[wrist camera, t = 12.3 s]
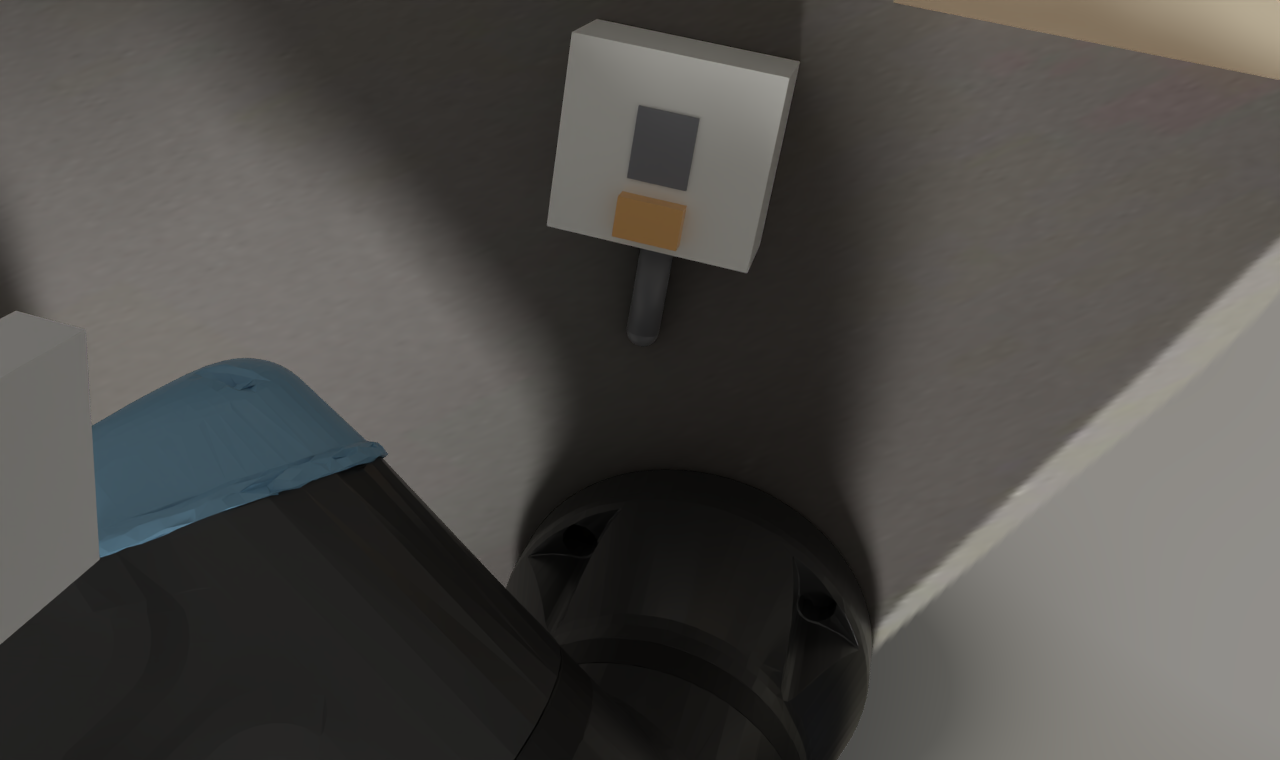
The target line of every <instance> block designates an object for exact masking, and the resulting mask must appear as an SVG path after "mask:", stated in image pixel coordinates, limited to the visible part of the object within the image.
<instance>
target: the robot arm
mask: <svg viewBox="0 0 1280 760" xmlns="http://www.w3.org/2000/svg"><path fill="white" fill-rule="evenodd" d="M387 455H388V453H387V452H386V451H385V450H384V448H383V447H382V446H381V445H380V444H379V443H377V442H369V441H366V440H365V439H364V438H363V437H362V436H361V435H360V434H359V433H357V432H356V431H355V430H354V429H353V428H352V427H351V426H350V425H349V424H348V423H347V422H346V421H345V420H344V419H343V418H342V417H340V416H339V415H338V414H337V413H336V412H335V411H334V410H333V409H332V408H331V407H330V406H329V405H328V404H327V403H326V402H324V401H323V400H322V399H321V398H320V397H319V396H318V395H317V394H316V393H315V392H314V391H313V390H312V389H311V388H310V387H309V386H307V385H306V384H305V383H304V382H303V381H302V380H301V379H300V378H299V377H298V376H296V375H295V374H294V373H292V372H291V371H290V370H288V369H286V368H284V367H283V366H281V365H278V364H276V363H273V362H270V361H266V360H262V359H254V358H237V359H230V360H225V361H221V362H218V363H214V364H211V365H208V366H205V367H203V368H200V369H198V370H195V371H193V372H191V373H189V374H186V375H184V376H182V377H180V378H178V379H176V380H174V381H172V382H170V383H168V384H166V385H164V386H162V387H160V388H159V389H157V390H155V391H153V392H151V393H149V394H147V395H145V396H143V397H142V398H140V399H138V400H136V401H134V402H132V403H130V404H129V405H127V406H125V407H124V408H122V409H120V410H118V411H117V412H115V413H113V414H112V415H110V416H108V417H107V418H105V419H103V420H101V421H100V422H98V423H96V424H94V425H93V426H92V423H91V406H90V389H89V372H88V355H87V338H86V329H84V328H80V327H76V326H72V325H68V324H65V323H61V322H57V321H53V320H50V319H46V318H42V317H38V316H34V315H31V314H27V313H23V312H19V311H14V312H12V313H10V314H8V315H6V316H4V317H2V318H0V760H837V759H838V758H839V756H840V755H841V753H842V752H843V750H844V749H845V747H846V746H847V744H848V742H849V741H850V739H851V738H852V736H853V734H854V732H855V730H856V728H857V726H858V723H859V721H860V718H861V715H862V713H863V710H864V706H865V702H866V699H867V694H868V688H869V678H870V667H871V656H872V631H871V623H870V618H869V613H868V609H867V606H866V602H865V599H864V597H863V594H862V591H861V589H860V587H859V585H858V583H857V581H856V578H855V576H854V575H853V573H852V571H851V570H850V568H849V566H848V565H847V563H846V562H845V560H844V559H843V557H842V556H841V555H840V553H839V552H838V551H837V550H836V548H835V547H834V546H833V545H832V543H831V542H830V541H829V540H828V539H827V538H826V537H825V536H824V535H823V534H822V533H821V532H820V531H819V530H818V529H817V528H816V527H815V526H814V525H812V524H811V523H810V522H809V521H808V520H806V519H805V518H804V517H803V516H801V515H800V514H799V513H797V512H796V511H794V510H793V509H792V508H790V507H789V506H787V505H785V504H784V503H782V502H780V501H779V500H777V499H775V498H774V497H772V496H770V495H768V494H766V493H764V492H762V491H760V490H757V489H755V488H753V487H750V486H748V485H745V484H742V483H740V482H737V481H734V480H730V479H727V478H724V477H720V476H715V475H711V474H706V473H700V472H694V471H683V470H650V471H641V472H635V473H629V474H624V475H620V476H617V477H613V478H610V479H607V480H604V481H601V482H598V483H596V484H594V485H592V486H589V487H587V488H585V489H583V490H582V491H580V492H578V493H576V494H575V495H573V496H572V497H570V498H569V499H567V500H566V501H565V502H563V503H562V504H561V505H559V506H558V507H557V508H556V509H555V510H554V511H553V512H552V513H551V514H550V515H549V516H548V517H547V518H546V519H545V520H544V521H543V522H542V524H541V525H540V526H539V528H538V529H537V530H536V532H535V533H534V535H533V536H532V538H531V540H530V541H529V543H528V545H527V546H526V548H525V550H524V552H523V553H522V555H521V557H520V558H519V560H518V562H517V564H516V565H515V567H514V570H513V572H512V574H511V576H510V579H509V581H508V584H507V587H506V588H505V587H504V586H503V585H502V584H501V583H500V582H499V581H498V580H497V579H496V578H495V577H494V576H493V575H492V574H491V573H490V572H489V571H488V569H487V568H486V567H485V566H484V565H483V564H482V563H481V562H480V561H479V560H478V559H477V558H476V557H475V556H474V555H473V554H472V553H471V551H470V550H469V549H468V548H467V547H466V546H465V545H464V544H463V543H462V542H461V541H460V540H459V539H458V538H457V537H456V536H455V535H454V533H453V532H452V531H451V530H450V529H449V528H448V527H447V526H446V525H445V524H444V523H443V522H442V521H441V520H440V519H439V518H438V516H437V515H436V514H435V513H434V512H433V511H432V510H431V509H430V508H429V507H428V506H427V505H426V504H425V503H424V502H423V501H422V500H421V498H420V497H419V496H418V495H417V494H416V493H415V492H414V491H413V490H412V489H411V488H410V487H409V486H408V485H407V484H406V483H405V482H404V480H403V479H402V478H401V477H400V476H399V475H398V474H397V473H396V472H395V471H394V470H393V469H392V468H391V467H390V466H389V465H388V463H387V462H386V461H385V460H384V459H383V458H384V457H386V456H387Z"/></svg>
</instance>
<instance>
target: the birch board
mask: <svg viewBox="0 0 1280 760" xmlns="http://www.w3.org/2000/svg"><path fill="white" fill-rule="evenodd" d="M894 3H898V4H903V5H908V6H913V7H918V8H923V9H928V10H933V11H938V12H943V13H948V14H953V15H958V16H963V17H968V18H973V19H978V20H983V21H988V22H993V23H998V24H1003V25H1008V26H1013V27H1018V28H1023V29H1028V30H1033V31H1038V32H1043V33H1048V34H1053V35H1058V36H1063V37H1068V38H1073V39H1078V40H1083V41H1088V42H1093V43H1098V44H1103V45H1108V46H1113V47H1118V48H1123V49H1128V50H1133V51H1138V52H1143V53H1148V54H1153V55H1158V56H1163V57H1168V58H1173V59H1178V60H1183V61H1188V62H1193V63H1198V64H1203V65H1208V66H1213V67H1218V68H1223V69H1228V70H1233V71H1238V72H1243V73H1248V74H1253V75H1258V76H1263V77H1268V78H1273V79H1278V80H1280V0H894Z"/></svg>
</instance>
